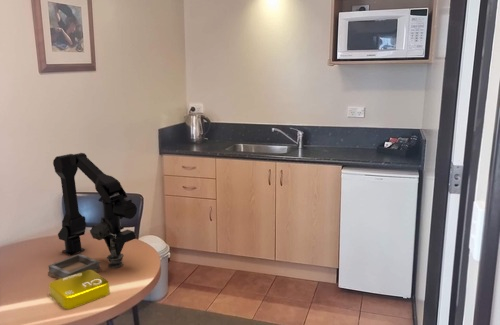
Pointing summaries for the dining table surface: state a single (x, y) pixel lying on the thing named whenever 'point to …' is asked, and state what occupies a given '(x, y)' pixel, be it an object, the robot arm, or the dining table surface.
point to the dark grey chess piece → (114, 256)
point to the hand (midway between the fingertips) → (115, 253)
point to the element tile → (78, 289)
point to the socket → (73, 266)
